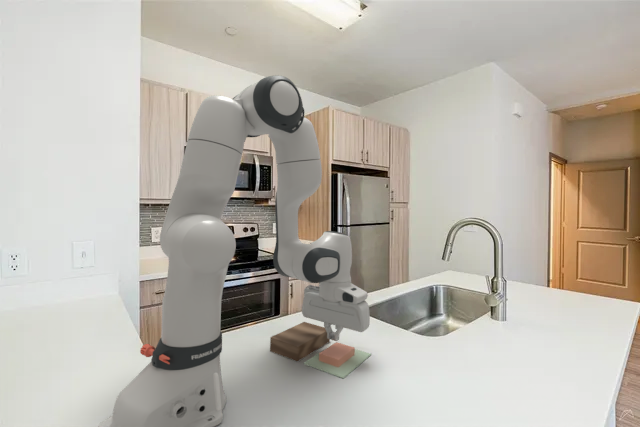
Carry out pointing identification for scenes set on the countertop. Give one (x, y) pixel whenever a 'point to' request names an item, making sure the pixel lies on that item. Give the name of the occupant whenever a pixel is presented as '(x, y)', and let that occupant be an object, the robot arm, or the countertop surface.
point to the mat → (341, 370)
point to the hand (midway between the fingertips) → (333, 339)
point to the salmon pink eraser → (336, 354)
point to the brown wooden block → (299, 341)
